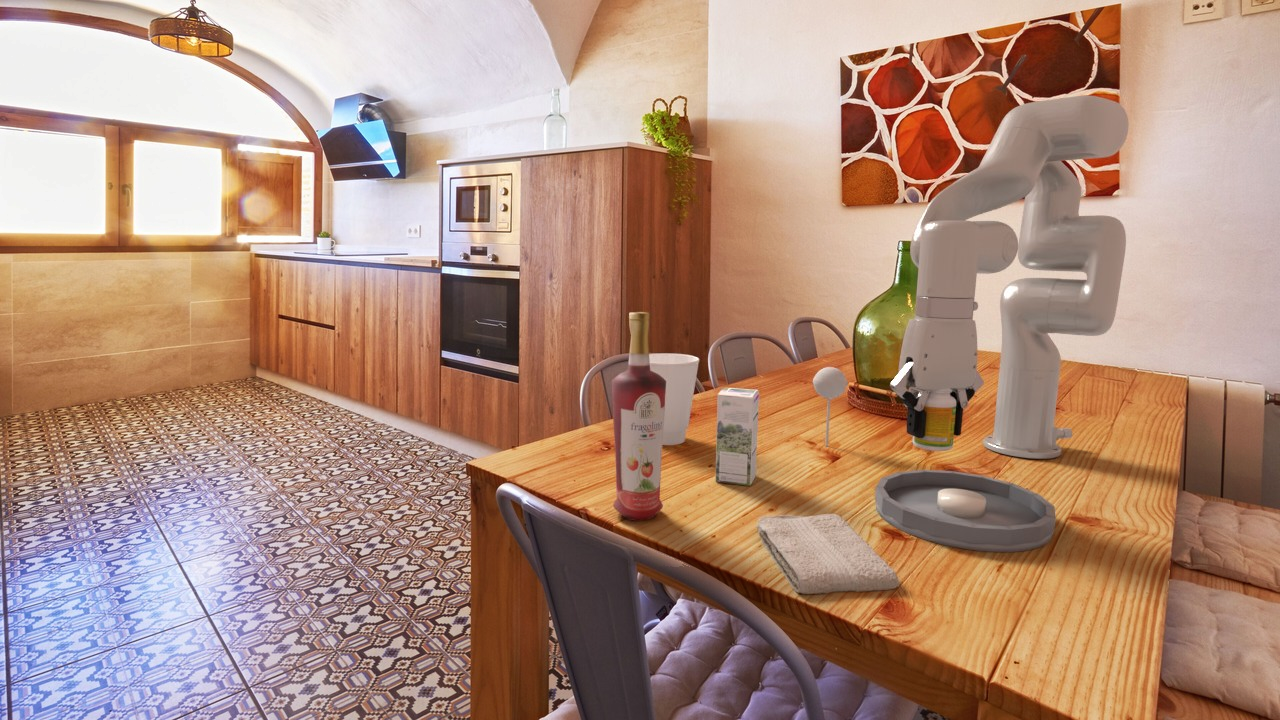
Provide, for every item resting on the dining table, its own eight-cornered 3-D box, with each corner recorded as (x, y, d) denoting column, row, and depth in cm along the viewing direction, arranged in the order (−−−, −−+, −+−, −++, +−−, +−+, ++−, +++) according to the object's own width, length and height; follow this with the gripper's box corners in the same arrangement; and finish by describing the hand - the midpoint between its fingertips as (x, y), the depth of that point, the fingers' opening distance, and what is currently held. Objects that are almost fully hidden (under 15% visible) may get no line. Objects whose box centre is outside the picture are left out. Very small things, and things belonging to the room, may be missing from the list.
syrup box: (756, 475, 110) (760, 388, 107) (750, 487, 104) (753, 395, 102) (722, 471, 112) (724, 385, 109) (714, 483, 106) (716, 393, 104)
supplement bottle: (956, 453, 95) (962, 385, 93) (916, 450, 96) (921, 383, 94) (947, 442, 100) (953, 378, 99) (909, 440, 101) (914, 376, 100)
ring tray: (968, 483, 107) (970, 465, 106) (1094, 541, 86) (1097, 519, 85) (845, 495, 101) (846, 476, 100) (948, 561, 80) (950, 537, 79)
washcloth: (835, 528, 91) (836, 506, 90) (903, 595, 73) (905, 568, 73) (749, 532, 89) (750, 510, 89) (798, 601, 72) (799, 574, 71)
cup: (679, 452, 122) (680, 365, 119) (624, 442, 128) (624, 359, 125) (708, 437, 132) (710, 356, 129) (656, 428, 138) (656, 351, 135)
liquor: (623, 528, 89) (624, 316, 84) (603, 508, 95) (603, 311, 91) (673, 519, 92) (676, 314, 87) (651, 501, 98) (653, 309, 94)
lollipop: (807, 448, 125) (811, 368, 123) (812, 439, 130) (815, 363, 128) (842, 452, 123) (846, 371, 120) (845, 443, 128) (849, 365, 126)
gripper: (974, 307, 101) (964, 424, 104) (874, 308, 96) (866, 431, 99) (1014, 311, 94) (1001, 437, 96) (908, 313, 89) (898, 445, 92)
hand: (933, 433), depth 98 cm, fingers closed on supplement bottle, 5 cm apart
